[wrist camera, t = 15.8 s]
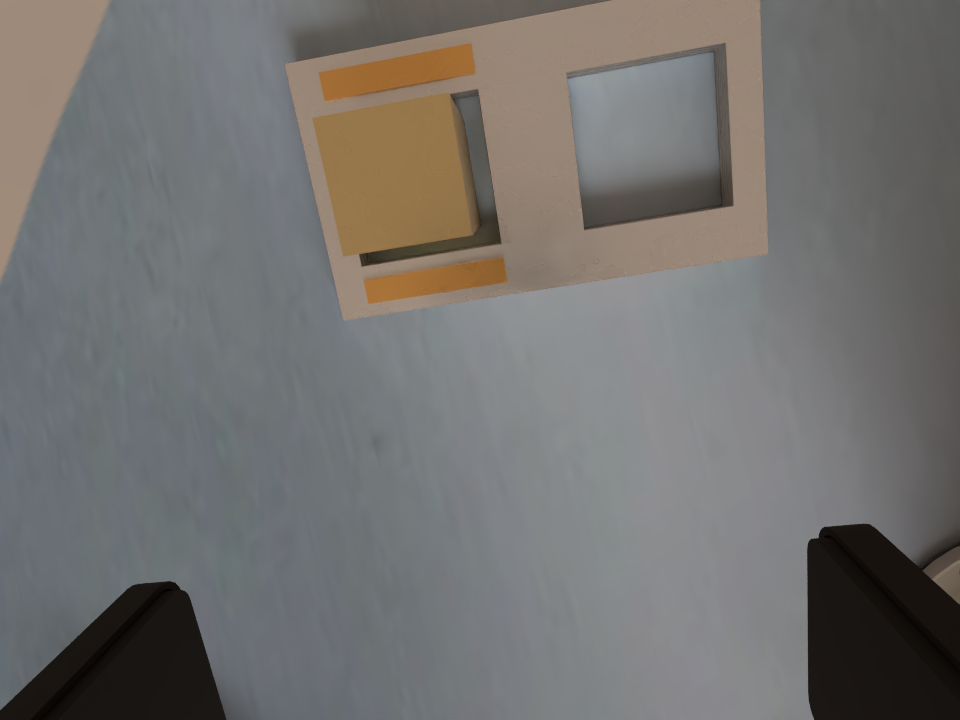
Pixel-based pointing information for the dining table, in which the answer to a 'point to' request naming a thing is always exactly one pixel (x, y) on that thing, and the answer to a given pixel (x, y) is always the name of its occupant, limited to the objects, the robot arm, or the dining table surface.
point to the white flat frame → (548, 147)
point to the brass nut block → (398, 174)
